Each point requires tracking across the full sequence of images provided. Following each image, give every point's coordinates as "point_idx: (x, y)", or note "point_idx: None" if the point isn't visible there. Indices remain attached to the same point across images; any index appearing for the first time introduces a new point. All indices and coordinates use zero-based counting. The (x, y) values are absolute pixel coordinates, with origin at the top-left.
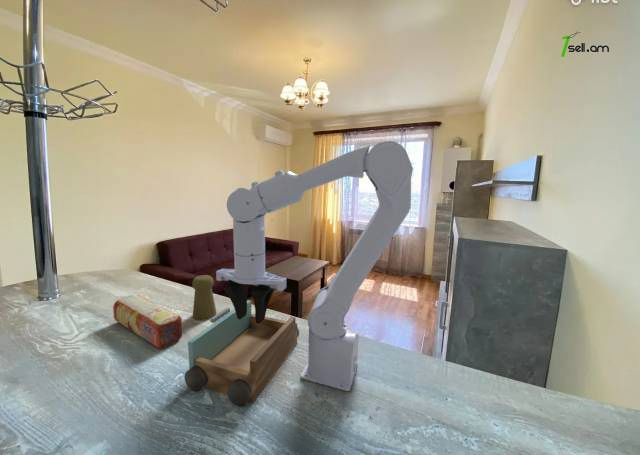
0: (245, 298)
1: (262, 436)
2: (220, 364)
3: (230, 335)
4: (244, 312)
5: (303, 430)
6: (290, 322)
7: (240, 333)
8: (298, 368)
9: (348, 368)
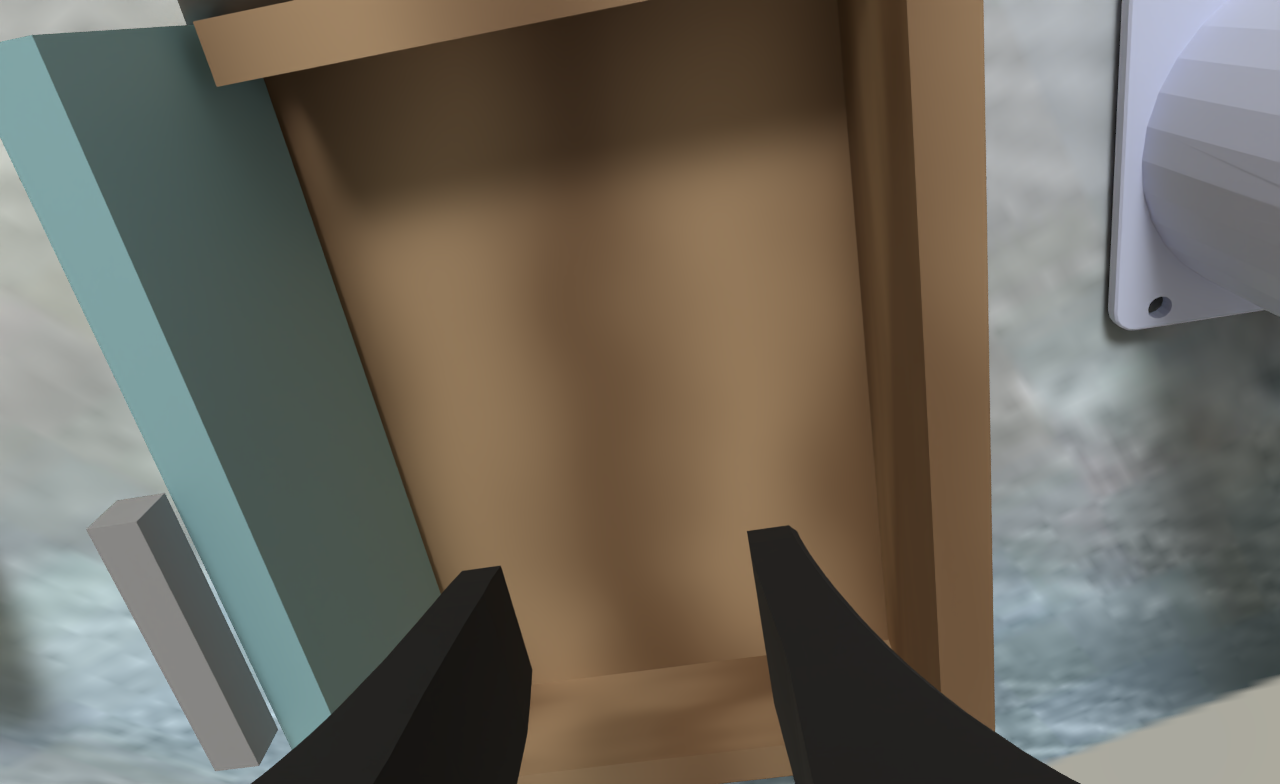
0: (425, 749)
1: (1069, 707)
2: (675, 769)
3: (351, 428)
4: (499, 633)
5: (1261, 607)
6: (982, 127)
7: (320, 249)
8: (1043, 229)
9: None
